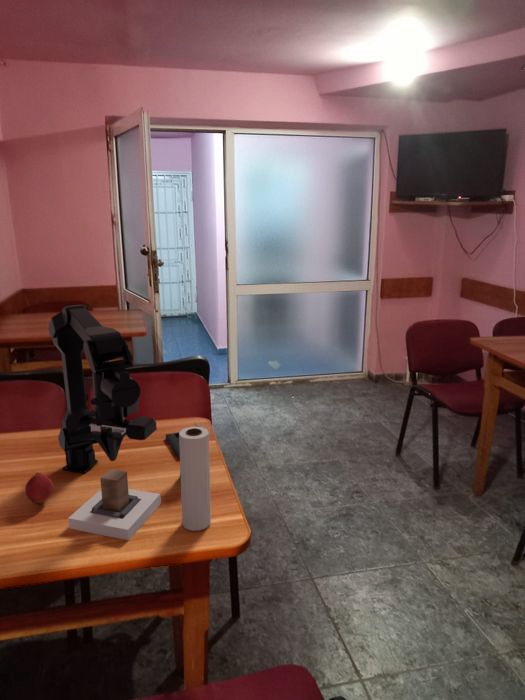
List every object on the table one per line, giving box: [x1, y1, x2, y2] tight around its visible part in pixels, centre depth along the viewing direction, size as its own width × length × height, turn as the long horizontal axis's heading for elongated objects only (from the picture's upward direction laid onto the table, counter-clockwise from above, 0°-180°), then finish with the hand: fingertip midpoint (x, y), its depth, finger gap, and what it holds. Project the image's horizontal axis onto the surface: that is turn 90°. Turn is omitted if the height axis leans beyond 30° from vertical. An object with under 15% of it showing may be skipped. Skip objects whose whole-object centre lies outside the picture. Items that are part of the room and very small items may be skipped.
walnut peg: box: [99, 468, 129, 513], centre depth 112 cm, size 4×4×10 cm
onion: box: [25, 471, 54, 505], centre depth 117 cm, size 6×6×8 cm
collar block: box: [68, 488, 161, 541], centre depth 113 cm, size 14×14×3 cm
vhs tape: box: [165, 431, 180, 461], centre depth 146 cm, size 14×8×2 cm, turn 25°
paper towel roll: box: [179, 422, 212, 532], centre depth 109 cm, size 7×6×21 cm
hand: (113, 460), depth 111 cm, fingers closed
